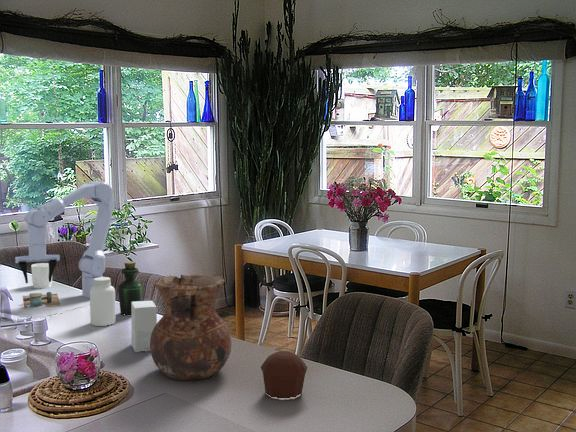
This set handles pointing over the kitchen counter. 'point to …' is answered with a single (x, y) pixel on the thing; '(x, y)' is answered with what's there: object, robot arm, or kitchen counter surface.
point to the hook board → (44, 300)
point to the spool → (35, 299)
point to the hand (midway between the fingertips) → (38, 281)
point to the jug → (190, 328)
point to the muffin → (283, 374)
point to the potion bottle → (129, 288)
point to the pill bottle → (102, 302)
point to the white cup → (41, 275)
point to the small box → (142, 324)
